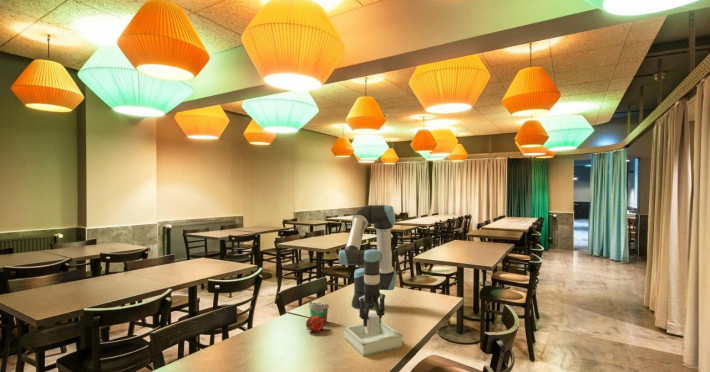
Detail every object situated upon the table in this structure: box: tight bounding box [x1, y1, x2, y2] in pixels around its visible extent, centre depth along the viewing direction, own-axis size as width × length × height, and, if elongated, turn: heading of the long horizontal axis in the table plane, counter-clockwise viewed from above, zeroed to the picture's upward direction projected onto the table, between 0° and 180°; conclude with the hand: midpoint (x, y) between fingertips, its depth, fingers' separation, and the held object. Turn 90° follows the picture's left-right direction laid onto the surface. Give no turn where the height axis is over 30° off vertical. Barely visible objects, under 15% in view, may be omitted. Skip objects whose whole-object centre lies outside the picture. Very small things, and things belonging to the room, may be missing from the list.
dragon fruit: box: [305, 316, 327, 333], centre depth 178 cm, size 8×8×12 cm
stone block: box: [368, 312, 379, 335], centre depth 163 cm, size 5×5×8 cm
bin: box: [343, 320, 404, 357], centre depth 163 cm, size 21×21×6 cm
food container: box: [308, 300, 329, 323], centre depth 190 cm, size 12×6×10 cm, turn 62°
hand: (372, 331), depth 163 cm, fingers closed on stone block, 5 cm apart
